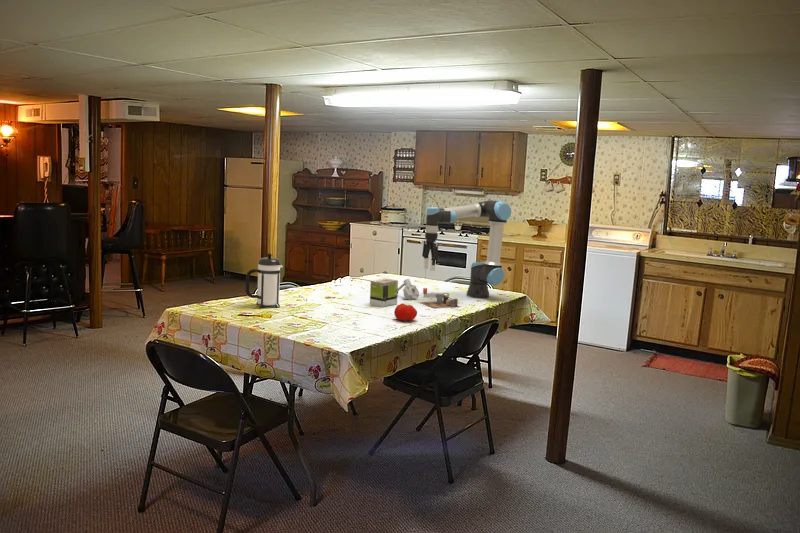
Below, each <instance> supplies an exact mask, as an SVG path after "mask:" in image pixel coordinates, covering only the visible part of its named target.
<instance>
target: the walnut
mask: <svg viewBox="0 0 800 533" xmlns="http://www.w3.org/2000/svg"><path fill="white" fill-rule="evenodd" d="M446 304H447V305H448V306H450V305H451V298H448V300H446Z"/></svg>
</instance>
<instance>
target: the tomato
mask: <svg viewBox="0 0 800 533" xmlns="http://www.w3.org/2000/svg"><path fill="white" fill-rule="evenodd" d="M396 305H397V306H396V307H395V309H394V311H393V313H394V314H393V315H394V317H395V318H396V319H397V320H399V321H400V322H412V320H415V319H416V317H417V315H418V311H417V309H416V308H415V307H414V306H413V305H411V304H405V303H400V304H396Z"/></svg>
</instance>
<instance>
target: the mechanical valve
mask: <svg viewBox="0 0 800 533" xmlns="http://www.w3.org/2000/svg"><path fill="white" fill-rule="evenodd" d="M402 288H403V289H402ZM401 289H402V292H403V296H404V299H406V300H410V301H415V300H416V299H418V298H419V296H420V292H419V290H418V288H417V285H414V284H412V282H411V280H410V279H409V278H406V279H404V280H403V283H402V284H401V285H400V286H398V293H397V295H398V294H399V291H400V290H401Z"/></svg>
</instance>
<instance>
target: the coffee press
mask: <svg viewBox="0 0 800 533" xmlns="http://www.w3.org/2000/svg"><path fill="white" fill-rule="evenodd" d="M272 256H273V255H272V253H270V252H269V253H267V256H266V257H265V256H264V257H261V258H260V259H258V261H257V265H258V266H257V269H255V268H252V269H250V270H249V271H248V272H247V273H246V276H245V293H246V296H247V297H249V298H252V299H257V300H256V301H257V302H255V304H256V305H257V306H259V309H263V308H264V307H265V306H275V307H276V308H277V309H280V308H281V305H280V287H281V286H280V283H281V268H282V269H283V268H284V266H283V265H282V262H281V261H280V259H279V258H277V257H272ZM254 273H257V294H252V293H250V276H251V274H254Z"/></svg>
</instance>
